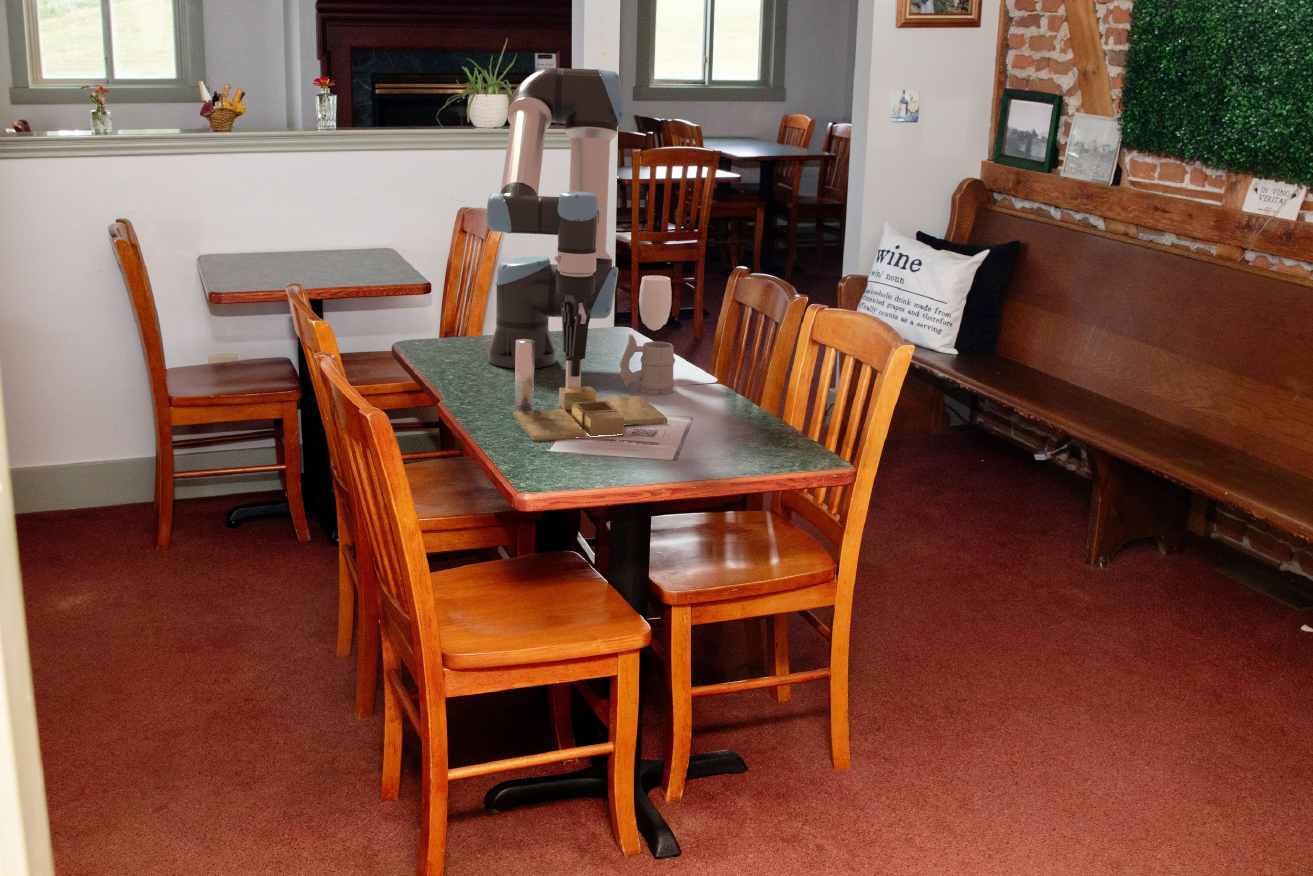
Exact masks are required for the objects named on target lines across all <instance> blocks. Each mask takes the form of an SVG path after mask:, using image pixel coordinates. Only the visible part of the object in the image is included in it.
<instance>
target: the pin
mask: <svg viewBox="0 0 1313 876" xmlns="http://www.w3.org/2000/svg"><path fill="white" fill-rule="evenodd" d="M534 346H535V341H534V340H530V339H519V340H516V352H515V368H514V369H515V370H514V372H515V373H514V375H515V376H514V411H532V410H534V397H535V396H534V395H535V394H534V392H535V390H534V389H535V388H534V387H535V386H534V385H535V368H534Z"/></svg>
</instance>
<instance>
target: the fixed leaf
mask: <svg viewBox="0 0 1313 876" xmlns="http://www.w3.org/2000/svg"><path fill="white" fill-rule="evenodd" d="M512 417H513V418H514V420H515V421H516V422H517V424H519V426H520V427H521V429H522V430H523V431H524V433H526V434H527V435H528V437H529V438H530V439H531V441H532V442H536V441H537V442H539V441H540V442H541V441H555V440H556V441H557V440H572V439H571V438H576V437H586V438H587V434H586V433H588V434H589V435H590V436H598V435H614V434H615V435H617V434H623V435H624V428H625V427H624V426H625V425H624V417H623V416H622V415H621V414H620V413H618V410H617V409H616V408H615V407H613V406H612V405H611V404H610V403H609V402H608V401H595V402H574V403H572V410H571V415H570V413H568V411H567V410H564V409H563V408H556V409H535V410H534V409H533V410H532V411H515V410H513V411H512ZM576 439H577V438H576Z"/></svg>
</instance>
